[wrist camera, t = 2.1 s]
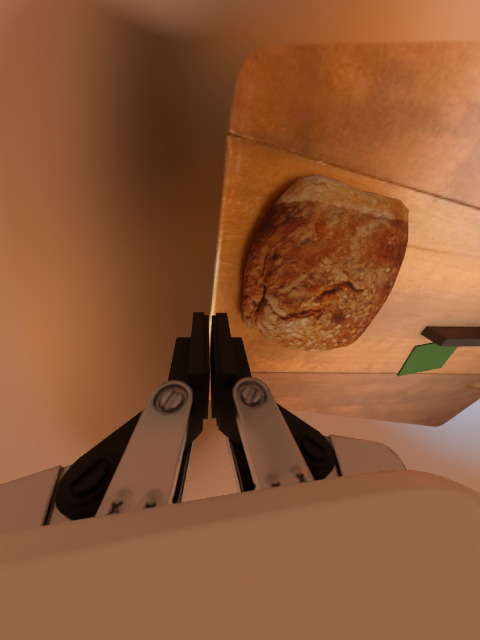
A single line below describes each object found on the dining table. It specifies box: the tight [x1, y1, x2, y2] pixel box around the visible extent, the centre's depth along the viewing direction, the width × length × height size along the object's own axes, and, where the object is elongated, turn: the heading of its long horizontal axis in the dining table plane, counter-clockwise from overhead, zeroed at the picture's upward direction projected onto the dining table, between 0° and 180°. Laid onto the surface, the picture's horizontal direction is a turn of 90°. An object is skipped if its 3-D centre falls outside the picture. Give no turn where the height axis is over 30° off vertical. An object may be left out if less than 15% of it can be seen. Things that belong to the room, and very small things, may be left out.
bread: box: [241, 175, 409, 351], centre depth 23 cm, size 20×18×10 cm
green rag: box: [398, 343, 458, 376], centre depth 45 cm, size 10×12×1 cm
